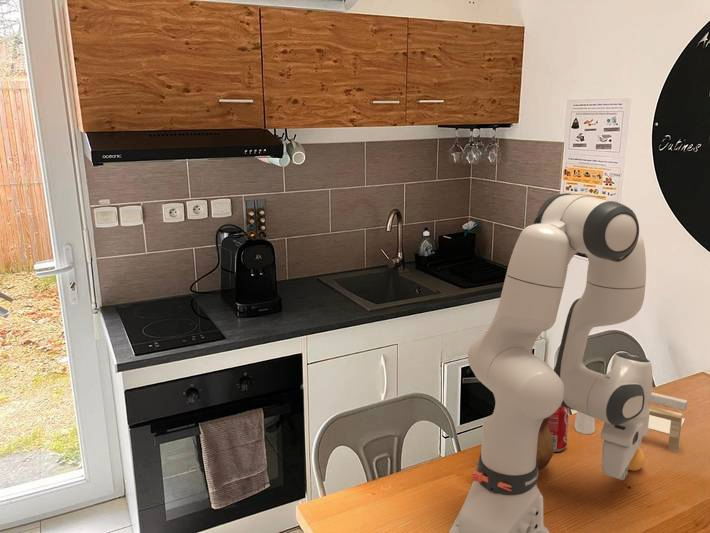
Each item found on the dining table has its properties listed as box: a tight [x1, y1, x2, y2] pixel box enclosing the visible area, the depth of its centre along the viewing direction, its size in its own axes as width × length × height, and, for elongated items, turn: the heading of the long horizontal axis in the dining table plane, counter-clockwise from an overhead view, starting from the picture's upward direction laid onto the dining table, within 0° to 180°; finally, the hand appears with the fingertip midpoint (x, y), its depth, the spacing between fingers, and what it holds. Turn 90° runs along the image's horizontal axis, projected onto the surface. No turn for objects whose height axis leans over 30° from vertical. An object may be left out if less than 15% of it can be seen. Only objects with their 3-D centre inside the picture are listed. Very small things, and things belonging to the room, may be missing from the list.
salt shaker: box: [573, 411, 596, 435], centre depth 161 cm, size 5×5×11 cm
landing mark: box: [648, 415, 686, 435], centre depth 166 cm, size 12×12×1 cm
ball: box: [628, 447, 646, 471], centre depth 142 cm, size 6×6×6 cm
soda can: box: [548, 406, 570, 453], centre depth 152 cm, size 7×7×13 cm
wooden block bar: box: [649, 391, 688, 411], centre depth 176 cm, size 2×10×2 cm, turn 52°
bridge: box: [649, 405, 683, 454], centre depth 154 cm, size 3×15×10 cm, turn 52°
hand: (621, 476), depth 135 cm, fingers closed
